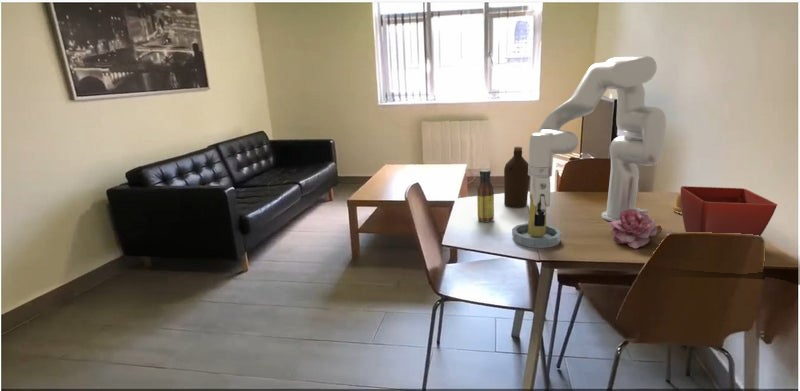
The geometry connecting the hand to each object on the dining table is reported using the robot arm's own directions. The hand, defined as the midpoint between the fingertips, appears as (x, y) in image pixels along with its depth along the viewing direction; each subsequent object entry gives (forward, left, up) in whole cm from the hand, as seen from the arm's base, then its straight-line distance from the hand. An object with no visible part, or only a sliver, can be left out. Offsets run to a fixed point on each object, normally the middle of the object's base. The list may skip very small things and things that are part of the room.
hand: (537, 222), depth 147 cm
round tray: (0, 0, -6) cm, 6 cm away
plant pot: (-56, +4, -6) cm, 56 cm away
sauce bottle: (+15, -20, -6) cm, 26 cm away
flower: (-31, +1, -6) cm, 31 cm away
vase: (0, 0, -4) cm, 4 cm away
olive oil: (0, -40, -6) cm, 40 cm away
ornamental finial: (-63, -29, -6) cm, 69 cm away
